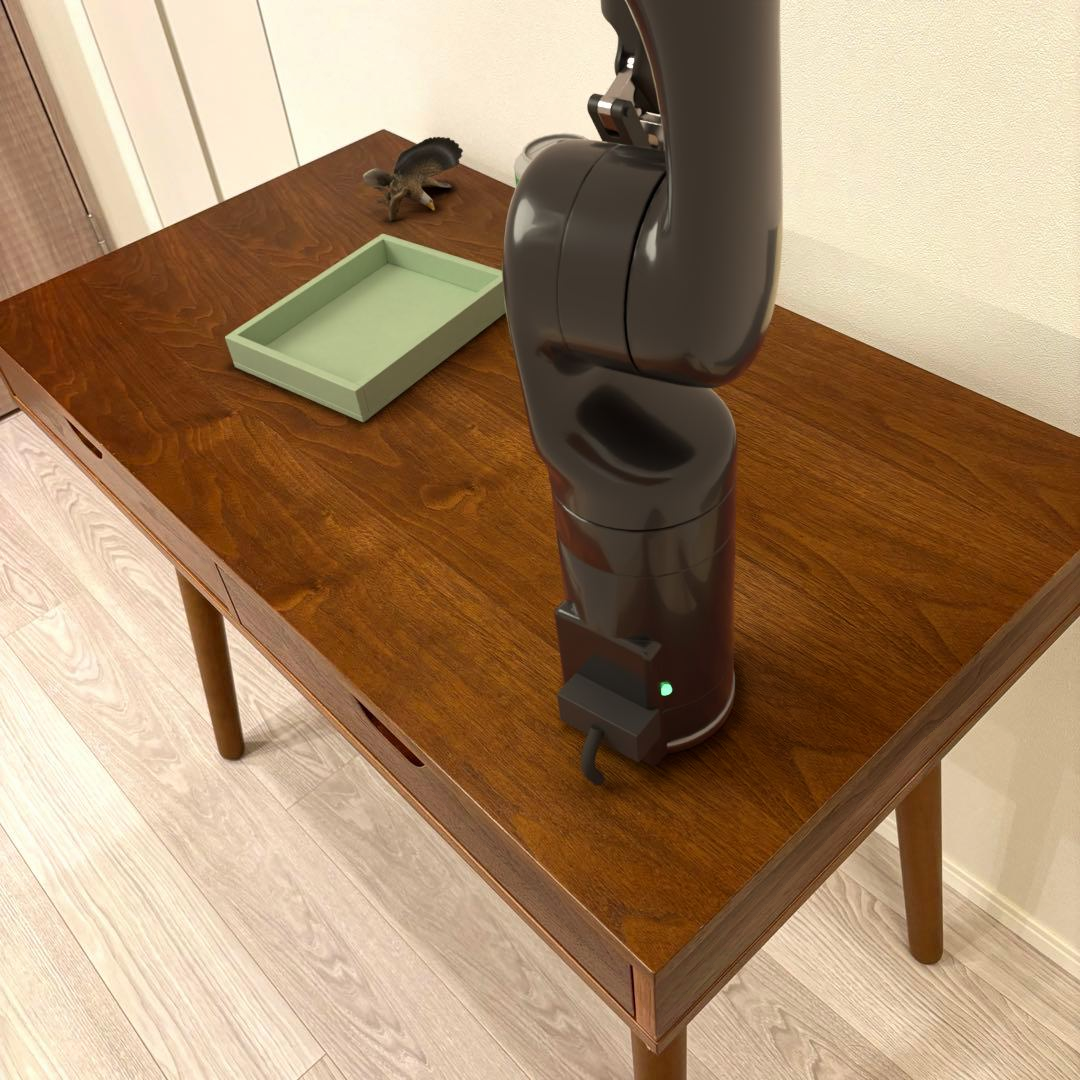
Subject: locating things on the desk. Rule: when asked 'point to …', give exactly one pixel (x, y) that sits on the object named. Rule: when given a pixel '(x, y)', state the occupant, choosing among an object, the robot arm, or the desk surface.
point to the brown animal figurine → (415, 172)
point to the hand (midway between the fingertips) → (672, 210)
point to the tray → (370, 325)
